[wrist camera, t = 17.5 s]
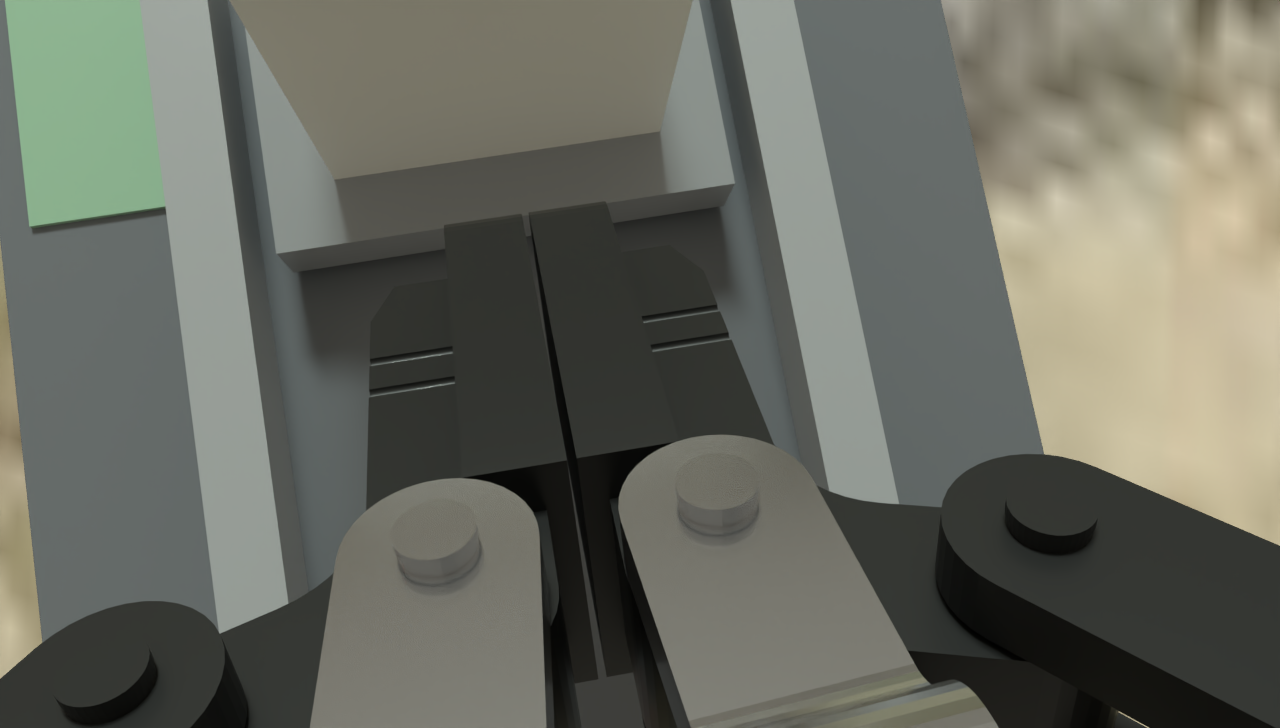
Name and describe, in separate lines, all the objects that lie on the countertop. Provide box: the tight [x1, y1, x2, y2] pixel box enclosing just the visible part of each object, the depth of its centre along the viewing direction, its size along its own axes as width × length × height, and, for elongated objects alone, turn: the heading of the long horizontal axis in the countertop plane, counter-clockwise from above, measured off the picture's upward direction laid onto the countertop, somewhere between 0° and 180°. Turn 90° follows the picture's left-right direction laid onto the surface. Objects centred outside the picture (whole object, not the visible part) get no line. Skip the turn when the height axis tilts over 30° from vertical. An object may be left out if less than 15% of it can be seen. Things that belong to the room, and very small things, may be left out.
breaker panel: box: [0, 0, 1044, 728], centre depth 19 cm, size 16×17×4 cm
